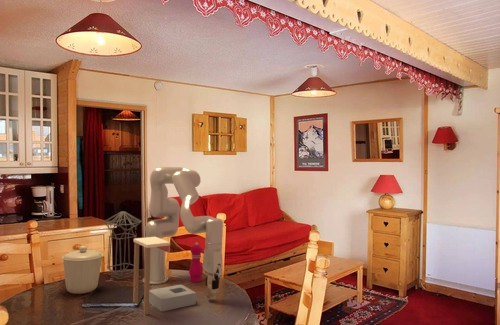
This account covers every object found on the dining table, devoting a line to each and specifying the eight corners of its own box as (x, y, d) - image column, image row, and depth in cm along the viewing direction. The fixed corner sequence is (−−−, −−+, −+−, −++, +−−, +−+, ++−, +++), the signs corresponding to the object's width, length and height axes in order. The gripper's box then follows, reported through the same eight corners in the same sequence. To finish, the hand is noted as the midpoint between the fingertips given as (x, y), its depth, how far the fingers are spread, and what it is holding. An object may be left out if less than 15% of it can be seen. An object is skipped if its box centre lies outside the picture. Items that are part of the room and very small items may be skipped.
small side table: (131, 304, 169) (133, 238, 169) (153, 300, 175) (155, 236, 175) (145, 315, 157) (146, 244, 157) (168, 310, 163) (170, 242, 163)
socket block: (147, 301, 173) (148, 290, 173) (180, 295, 183) (181, 284, 183) (161, 311, 162) (161, 299, 162) (195, 304, 171) (195, 292, 171)
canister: (60, 298, 174) (61, 251, 174) (61, 287, 191) (62, 243, 191) (103, 294, 181) (104, 248, 182) (101, 283, 198) (102, 241, 198)
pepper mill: (200, 283, 202) (200, 243, 202) (186, 281, 204) (187, 243, 204) (204, 279, 209) (205, 241, 209) (191, 277, 211) (192, 240, 211)
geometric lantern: (143, 276, 211) (143, 211, 211) (115, 283, 200) (116, 214, 199) (127, 270, 222) (128, 208, 221) (101, 276, 211) (101, 211, 210)
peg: (205, 296, 176) (206, 269, 176) (213, 294, 179) (214, 268, 179) (210, 299, 173) (211, 272, 173) (218, 297, 175) (219, 270, 175)
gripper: (197, 243, 180) (195, 283, 180) (216, 251, 167) (214, 294, 167) (211, 242, 185) (209, 280, 185) (231, 249, 171) (229, 291, 171)
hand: (212, 286), depth 176 cm, fingers closed on peg, 4 cm apart
